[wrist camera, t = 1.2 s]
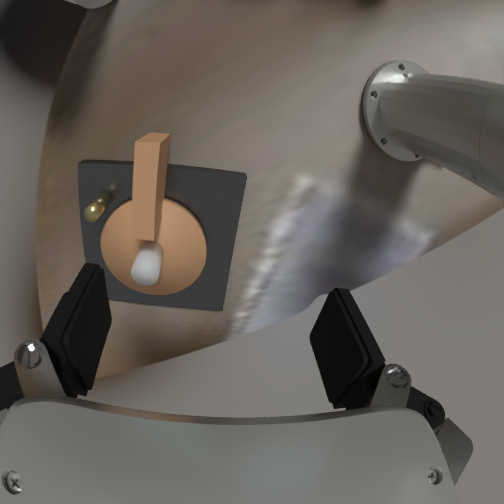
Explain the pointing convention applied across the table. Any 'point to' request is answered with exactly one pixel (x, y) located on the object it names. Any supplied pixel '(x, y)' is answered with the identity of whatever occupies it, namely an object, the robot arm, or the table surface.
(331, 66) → the table surface
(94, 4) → the drinking glass
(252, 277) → the table surface
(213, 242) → the base plate
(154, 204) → the wooden lever dial
